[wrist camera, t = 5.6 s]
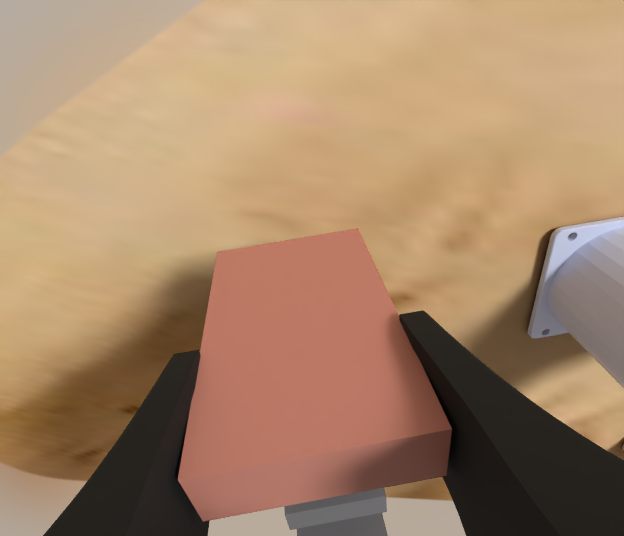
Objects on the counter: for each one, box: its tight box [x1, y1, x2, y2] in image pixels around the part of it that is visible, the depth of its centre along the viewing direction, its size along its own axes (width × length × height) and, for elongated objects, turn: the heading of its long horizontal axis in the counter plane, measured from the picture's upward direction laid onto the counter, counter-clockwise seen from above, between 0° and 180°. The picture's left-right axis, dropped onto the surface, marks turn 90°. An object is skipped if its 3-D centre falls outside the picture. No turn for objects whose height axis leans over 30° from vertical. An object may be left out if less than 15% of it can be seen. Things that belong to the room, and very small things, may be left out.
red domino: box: [178, 228, 452, 521], centre depth 11 cm, size 2×5×8 cm, turn 97°
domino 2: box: [297, 513, 387, 536], centre depth 25 cm, size 2×5×8 cm, turn 97°
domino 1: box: [285, 488, 387, 530], centre depth 23 cm, size 2×5×8 cm, turn 97°
